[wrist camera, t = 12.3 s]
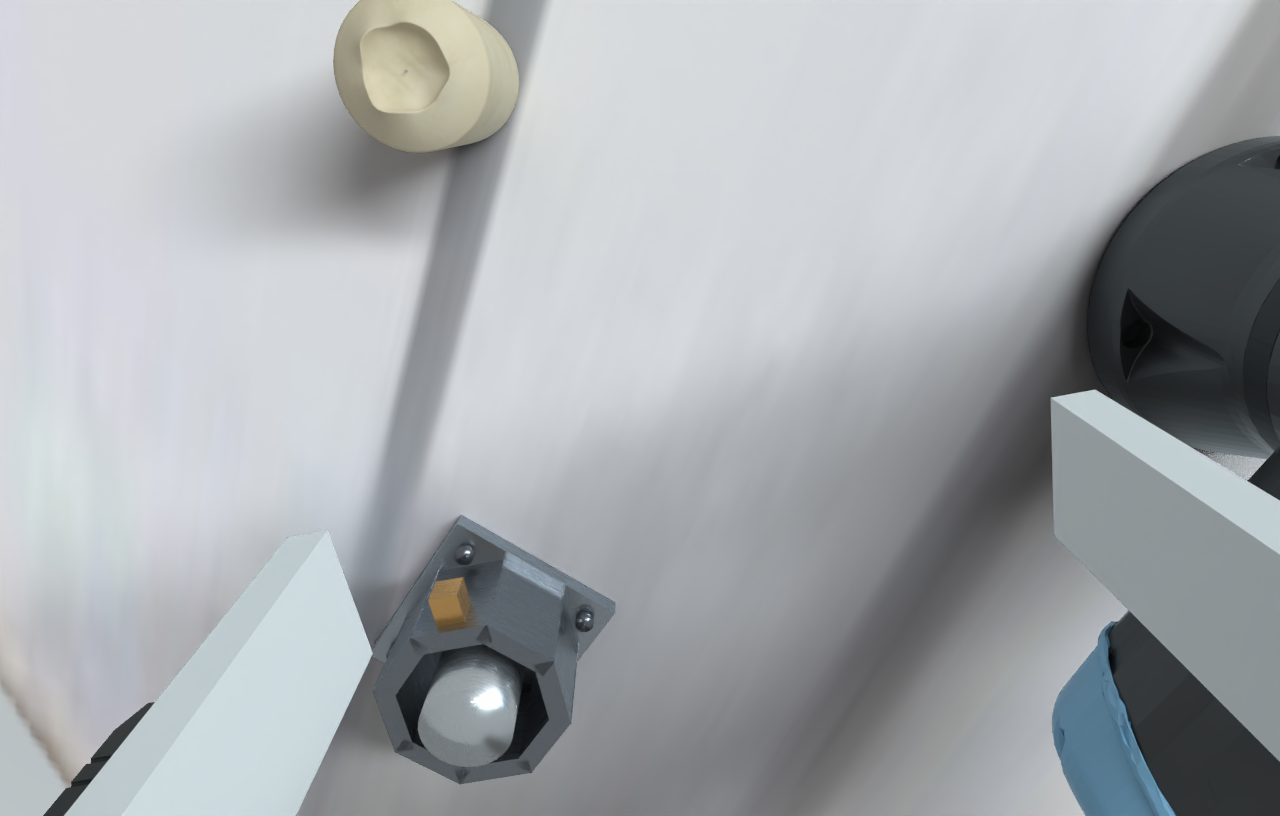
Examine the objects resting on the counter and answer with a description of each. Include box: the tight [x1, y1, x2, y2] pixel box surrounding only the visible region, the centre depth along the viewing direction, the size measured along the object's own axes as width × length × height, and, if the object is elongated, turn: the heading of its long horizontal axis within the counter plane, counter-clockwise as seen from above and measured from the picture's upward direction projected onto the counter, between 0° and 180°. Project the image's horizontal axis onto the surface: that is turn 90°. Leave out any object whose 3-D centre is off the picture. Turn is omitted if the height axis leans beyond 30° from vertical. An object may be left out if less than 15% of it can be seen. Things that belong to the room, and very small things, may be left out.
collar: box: [373, 559, 578, 784], centre depth 43 cm, size 10×9×6 cm
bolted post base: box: [372, 515, 615, 767], centre depth 43 cm, size 10×10×8 cm
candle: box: [333, 0, 519, 153], centre depth 32 cm, size 6×6×10 cm
